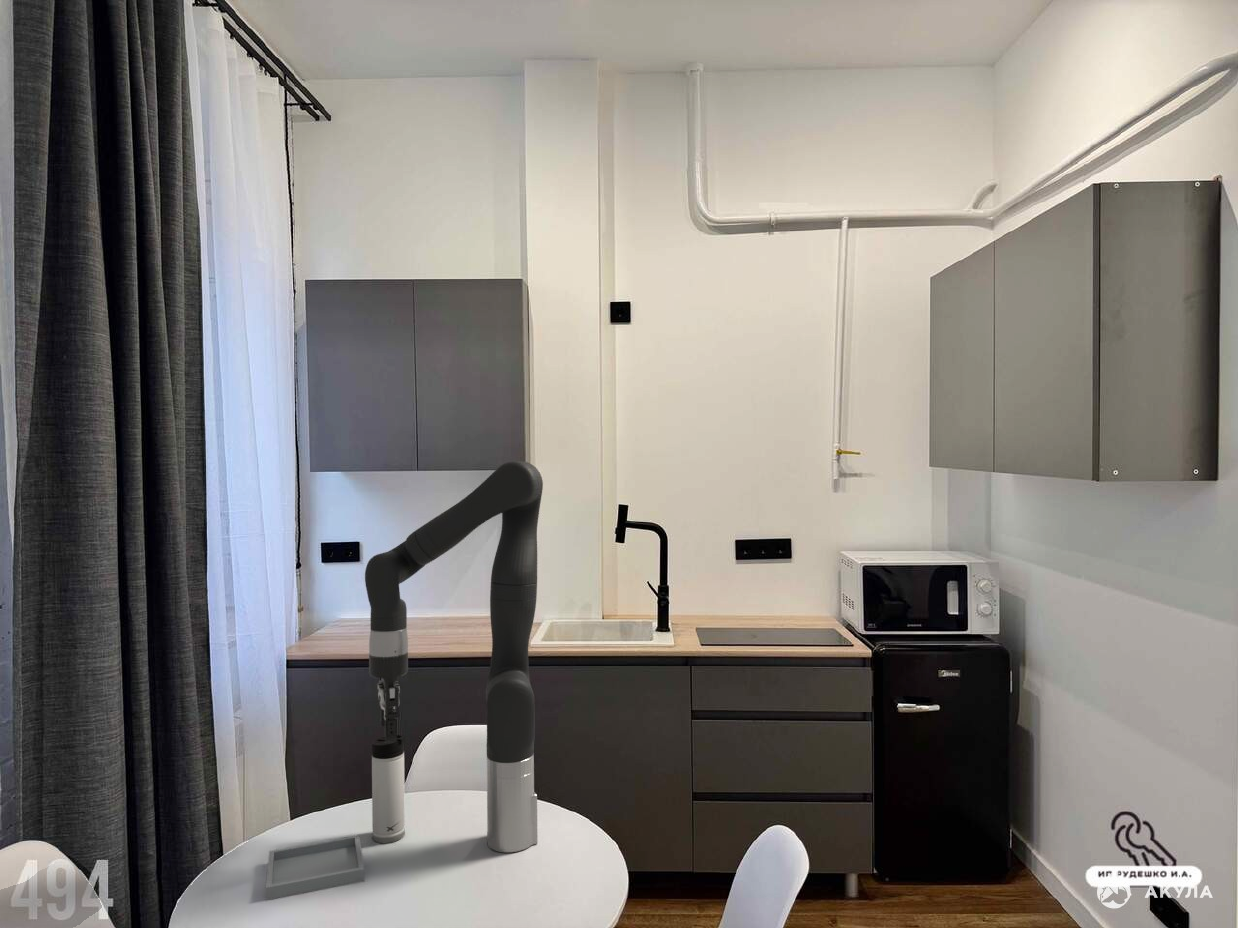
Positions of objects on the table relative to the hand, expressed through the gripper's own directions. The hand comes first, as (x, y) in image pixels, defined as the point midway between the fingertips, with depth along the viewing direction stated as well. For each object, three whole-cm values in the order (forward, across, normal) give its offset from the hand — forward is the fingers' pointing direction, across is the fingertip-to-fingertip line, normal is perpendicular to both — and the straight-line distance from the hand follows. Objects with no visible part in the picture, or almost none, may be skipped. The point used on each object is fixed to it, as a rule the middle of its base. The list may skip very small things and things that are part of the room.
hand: (388, 731), depth 158 cm
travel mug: (+21, 0, 0) cm, 21 cm away
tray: (+21, -9, +14) cm, 27 cm away
